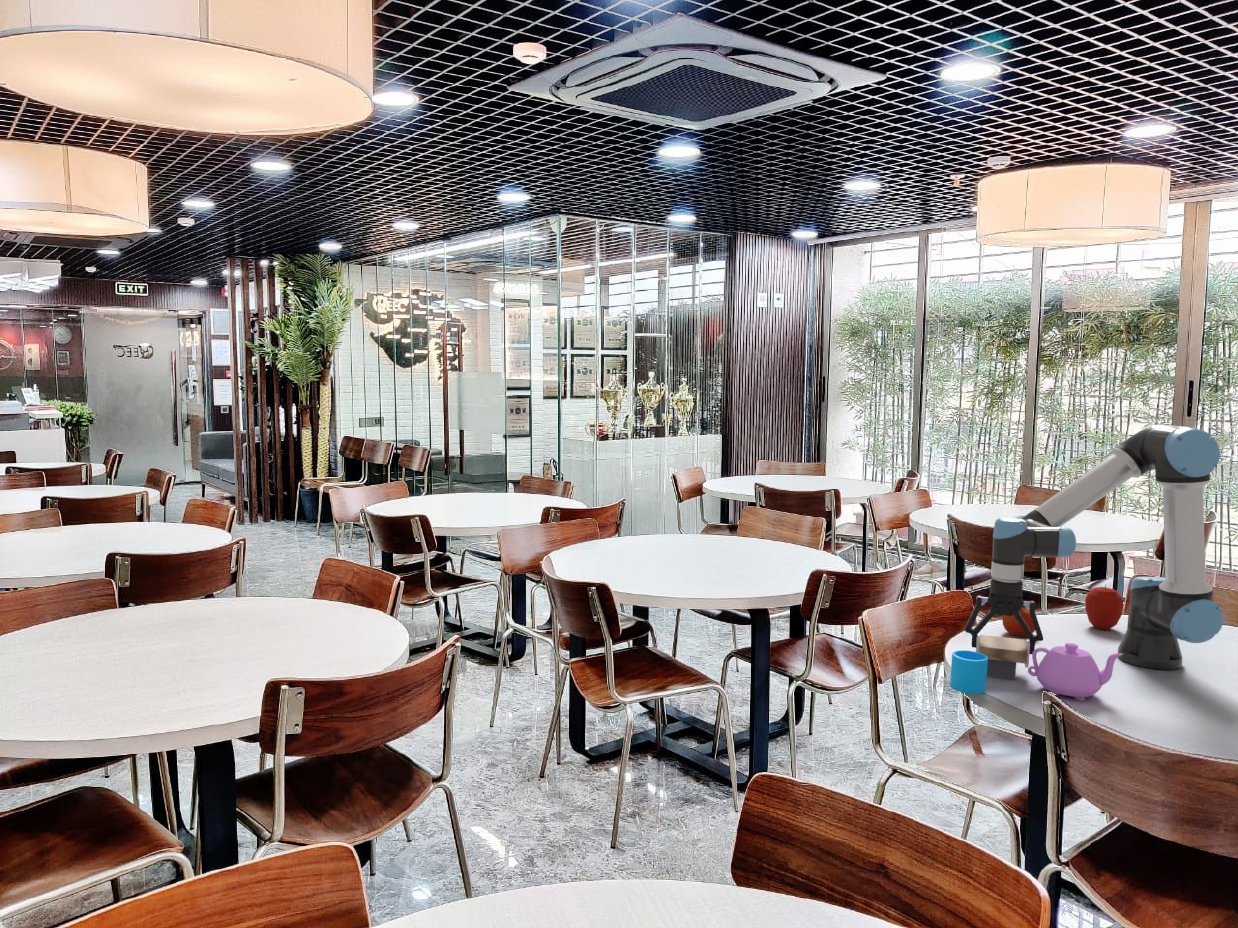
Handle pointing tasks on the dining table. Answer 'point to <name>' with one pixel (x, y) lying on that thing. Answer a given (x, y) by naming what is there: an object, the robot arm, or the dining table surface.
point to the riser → (1001, 669)
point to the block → (1003, 648)
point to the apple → (1103, 607)
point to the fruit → (1014, 626)
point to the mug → (968, 672)
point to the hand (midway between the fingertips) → (1001, 662)
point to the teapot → (1071, 671)
